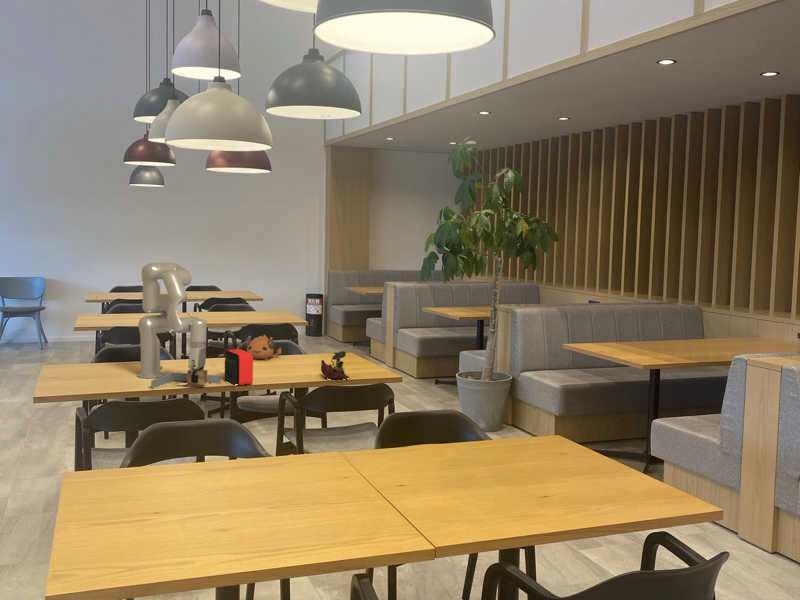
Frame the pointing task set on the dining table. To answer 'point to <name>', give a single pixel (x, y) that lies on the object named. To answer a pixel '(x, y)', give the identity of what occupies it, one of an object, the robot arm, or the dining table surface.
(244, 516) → the dining table surface
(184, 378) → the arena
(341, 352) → the multicoloured piece
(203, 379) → the walnut block
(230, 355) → the red black block
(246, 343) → the toy
